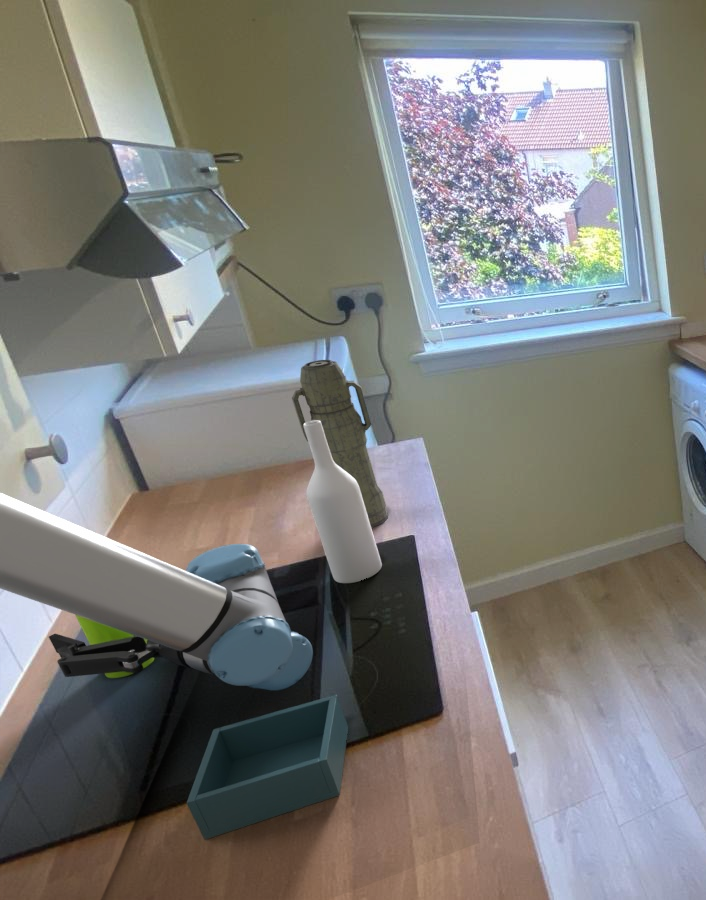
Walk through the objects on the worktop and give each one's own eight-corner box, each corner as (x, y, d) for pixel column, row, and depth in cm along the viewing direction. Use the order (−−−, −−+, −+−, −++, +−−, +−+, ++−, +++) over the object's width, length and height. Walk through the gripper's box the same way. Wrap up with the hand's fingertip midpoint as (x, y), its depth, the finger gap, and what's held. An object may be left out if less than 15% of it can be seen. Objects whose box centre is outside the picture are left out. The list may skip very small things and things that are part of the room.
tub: (204, 840, 84) (186, 803, 82) (228, 763, 94) (213, 729, 92) (339, 795, 89) (326, 759, 87) (348, 727, 100) (336, 694, 97)
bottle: (383, 575, 136) (339, 424, 124) (333, 588, 132) (283, 434, 121) (380, 556, 142) (338, 411, 131) (333, 569, 139) (284, 420, 127)
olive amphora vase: (402, 517, 157) (358, 360, 144) (341, 538, 150) (289, 373, 136) (389, 505, 163) (345, 352, 150) (329, 524, 156) (278, 365, 142)
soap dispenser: (106, 668, 113) (51, 557, 106) (162, 654, 116) (112, 544, 108) (93, 691, 108) (34, 576, 101) (151, 676, 111) (99, 562, 104)
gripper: (117, 726, 91) (16, 691, 98) (302, 613, 113) (209, 590, 120) (93, 678, 88) (-10, 645, 95) (287, 571, 110) (192, 551, 117)
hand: (112, 615), depth 107 cm, fingers open, 13 cm apart
